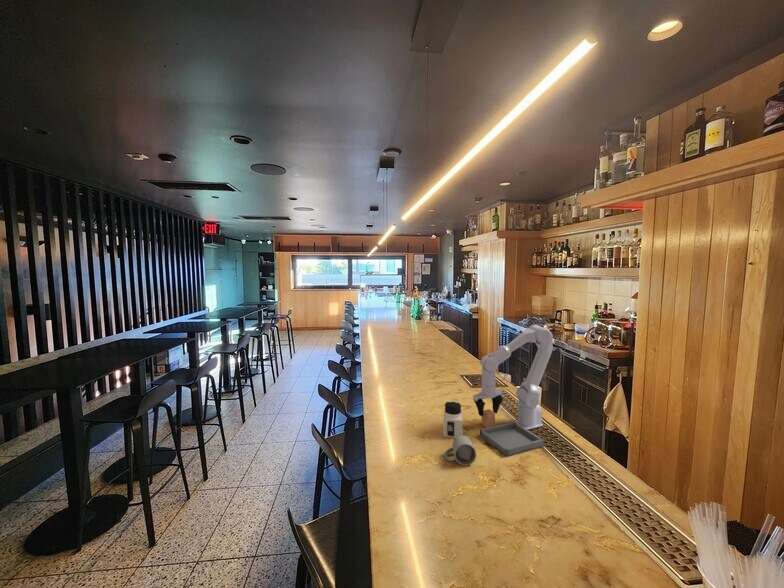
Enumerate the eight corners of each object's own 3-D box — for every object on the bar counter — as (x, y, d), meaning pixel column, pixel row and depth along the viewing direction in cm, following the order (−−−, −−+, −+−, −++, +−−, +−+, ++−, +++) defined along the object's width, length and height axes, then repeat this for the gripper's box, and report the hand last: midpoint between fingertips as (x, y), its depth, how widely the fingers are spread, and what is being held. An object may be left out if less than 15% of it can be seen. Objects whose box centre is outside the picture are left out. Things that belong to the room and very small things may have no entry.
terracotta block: (489, 422, 140) (489, 409, 139) (494, 426, 136) (495, 413, 136) (481, 423, 138) (481, 410, 138) (487, 428, 135) (487, 414, 134)
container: (462, 438, 126) (462, 407, 126) (443, 436, 128) (443, 406, 127) (462, 429, 134) (462, 399, 133) (443, 427, 136) (443, 398, 135)
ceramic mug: (471, 452, 117) (470, 432, 116) (476, 465, 109) (476, 444, 108) (442, 452, 117) (442, 433, 117) (446, 466, 109) (445, 445, 108)
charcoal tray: (514, 427, 135) (514, 421, 135) (544, 446, 120) (544, 440, 120) (479, 435, 129) (479, 429, 128) (506, 456, 114) (506, 450, 113)
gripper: (495, 378, 142) (495, 407, 143) (469, 383, 137) (468, 412, 138) (506, 383, 136) (506, 414, 137) (478, 388, 131) (478, 419, 132)
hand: (488, 413), depth 137 cm, fingers open, 7 cm apart
